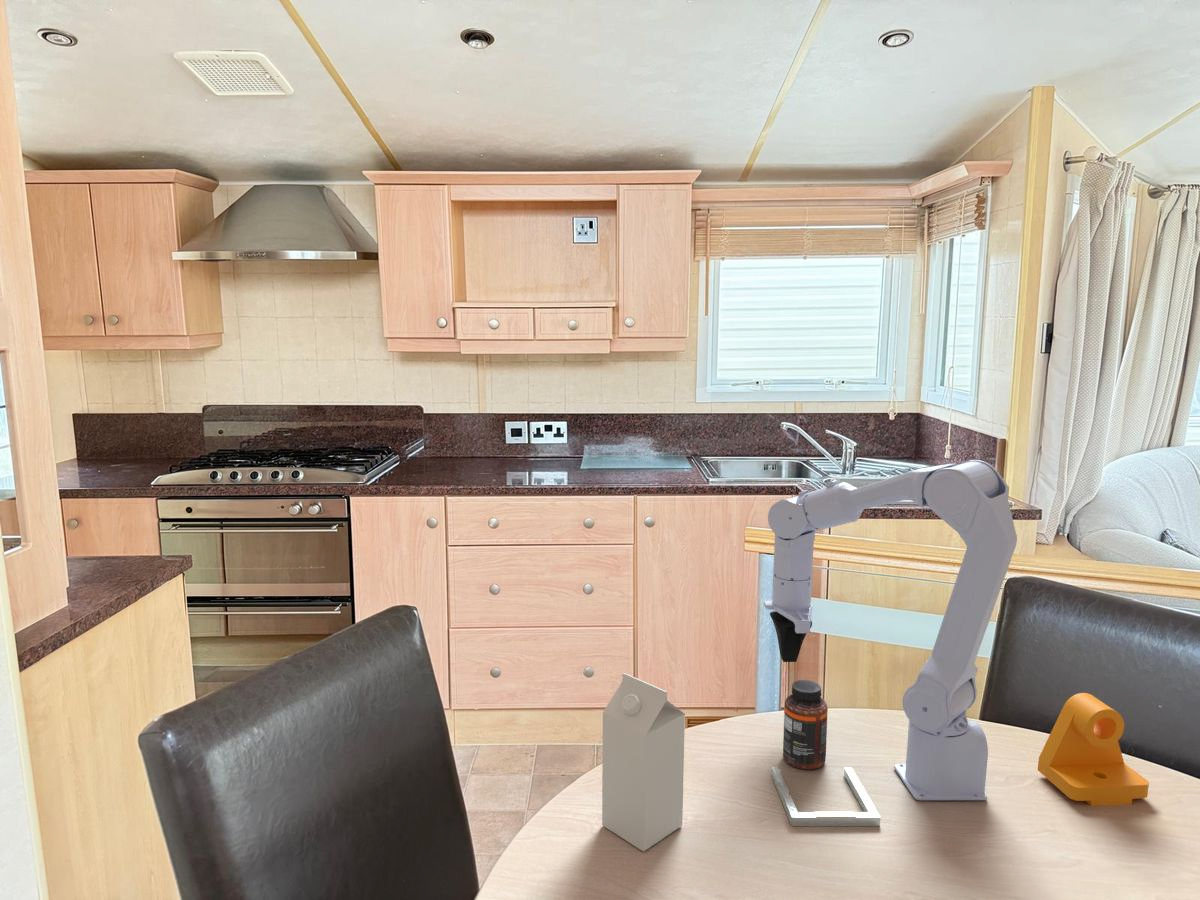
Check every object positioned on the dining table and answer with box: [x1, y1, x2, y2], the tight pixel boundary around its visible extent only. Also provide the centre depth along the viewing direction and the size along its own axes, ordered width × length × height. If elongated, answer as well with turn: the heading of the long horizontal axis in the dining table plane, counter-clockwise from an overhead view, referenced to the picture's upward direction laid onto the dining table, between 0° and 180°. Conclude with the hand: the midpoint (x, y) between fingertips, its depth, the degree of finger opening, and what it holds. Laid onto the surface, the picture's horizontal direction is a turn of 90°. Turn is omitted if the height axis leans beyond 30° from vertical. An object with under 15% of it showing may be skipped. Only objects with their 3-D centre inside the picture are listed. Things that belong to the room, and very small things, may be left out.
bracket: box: [1037, 692, 1150, 807], centre depth 105 cm, size 11×7×12 cm, turn 95°
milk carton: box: [601, 672, 686, 852], centre depth 96 cm, size 7×7×19 cm
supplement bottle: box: [782, 679, 829, 770], centre depth 111 cm, size 6×6×11 cm
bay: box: [771, 767, 881, 827], centre depth 103 cm, size 11×11×1 cm
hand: (788, 660), depth 121 cm, fingers closed
